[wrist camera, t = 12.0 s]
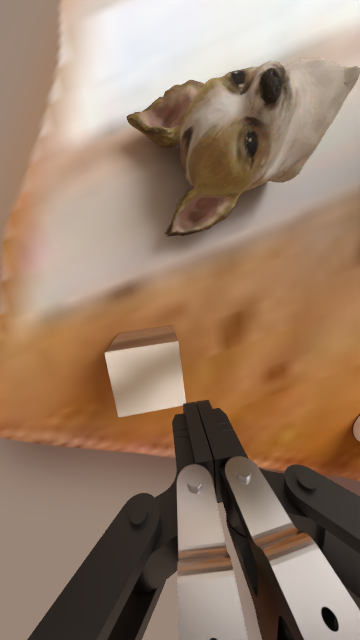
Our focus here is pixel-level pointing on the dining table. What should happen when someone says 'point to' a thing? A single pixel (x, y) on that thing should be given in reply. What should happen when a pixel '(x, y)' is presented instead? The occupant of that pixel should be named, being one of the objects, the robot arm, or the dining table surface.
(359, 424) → the mug
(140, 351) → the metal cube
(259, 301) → the dining table surface
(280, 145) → the ceramic sculpture
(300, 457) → the dining table surface
